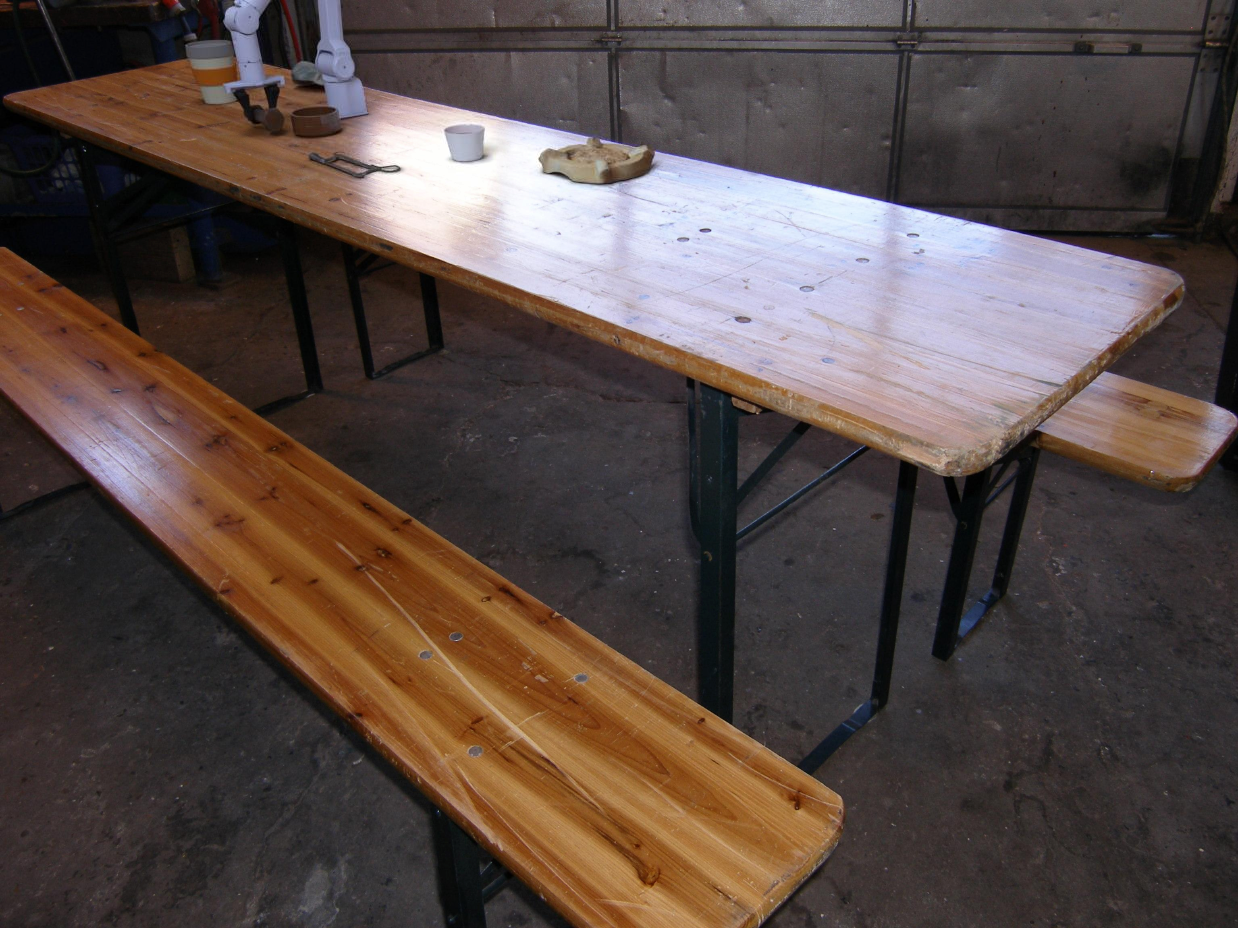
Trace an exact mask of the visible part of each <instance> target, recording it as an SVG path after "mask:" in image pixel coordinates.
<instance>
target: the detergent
mask: <svg viewBox="0 0 1238 928" xmlns="http://www.w3.org/2000/svg"><path fill="white" fill-rule="evenodd" d="M355 77H356V76H355V75H354V74H353V76H352V78H355ZM290 78H291V82H292V83H293V84H295V85H298V86H302V87H306V86H307V87H309V86H311V85H313V84H316V85H319V86H323V87H324V82H323V77H322V74H320V73H319V71H318V70H317V68H316V64H315V63H313V62H312V61H311V62H310V61H306V60H302V61H299V62H297V63H295V65H294V66H293V67H292V69H291V72H290Z"/></svg>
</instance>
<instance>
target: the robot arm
mask: <svg viewBox="0 0 1238 928" xmlns="http://www.w3.org/2000/svg"><path fill="white" fill-rule="evenodd" d="M270 2H271V0H234V1H233V4H234V5H233V6H231V7H230V6H229V7H228V8H227V9H226V11H225V12H224V19H223V20H222V21H223V24H224V26H225V28H226V29H227V30H228V31H229V32H230V34H231V35H230V36H231V39H232V46H233V49H234V55H235V58H236V62H237V63H236V64H237V68H238V71H239V77H240V79H239V80H238V81H235V82H231V83H226V84H223V86H224V90H225V92H226V93H232V92H233V94H234V96H235V97H236V99H237V101H238V103H239V104H240V106H241V108H242V110H243V111H244V112H245V114H246V116H247V118H246V119H247V120H248V122H250V123H251V122H253V121H254V120H253V115H252V111H251V107H250V106H251V101H250V94H249V93H248V92H247V91H248V90H255V89H261V88H263V91H264V94H265V98H266V100H267V105H268V109H270V108H277V106H278V105H277V104H278V99H279V96H280V92H281V89H280V87H279V86H285V85H286V81H285V76H284V75H274V76H266V74H265V68H264V63H263V58H262V55H261V51H260V50H261V48H260V45H259V40H258V36H257V30H258V29H259V25H260V20H259V19H260V17H261V15H262V14H263V12H264V11H265V9H267V6H268V5H269V3H270ZM317 5H318V6H317V8H318V19H319V28H320V29H319V30H320V40H319V41H318V44H317V45H316V50H317V54H316V57H315V60H314V61H315V62H314V64H315V65H316V68H317V70H318V71H319V73H320V74H322V77H323V82H324V86H323V88H324V92H325V98H326V103H327V105H326V106H330V107H335V108H338V110H339V116H340V120H342V119H346V118H351V117H358V116H363V115H364V116H365V115H368V114H369V111H368V108H367V104H366V96H365V90H364V86H363V84H362V81H361V80H360V78H359V77H357V76H355V78H352V76H353V75H354V74H355V70H356V65H355V62H354V60H353V58H352V55H351V49H350V47H349V46H348V44H347V43H346V42H345V40H344V31H343V19H342V10H341V8H342V7H341V0H317Z"/></svg>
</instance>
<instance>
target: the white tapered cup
mask: <svg viewBox="0 0 1238 928" xmlns="http://www.w3.org/2000/svg"><path fill="white" fill-rule="evenodd" d="M485 129H486V128H485V126H483V125H481V124H475V123H474V124H473V123H464V124H454V125H451V126H447V127H445V128H444V129H443V133H444V137H445V139H446V142H447V147H448V150H449V153H450V157H451V159H452V160H454V161H457V162H474V161H478V160H480V159H482V158H483V154H484V144H485V143H484V141H485Z"/></svg>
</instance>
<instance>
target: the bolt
mask: <svg viewBox="0 0 1238 928" xmlns="http://www.w3.org/2000/svg"><path fill="white" fill-rule="evenodd" d="M250 107H251V111H252V115H253V120H254V121H253V122H250V123H251V124H252V125H263V126H264V127H265V129H267V131H268V132H277V131H281V130H283V128H284V125H285V121H286V117H285V115H284V114H283V113H282V111H280V109H279V108H278V107H276V108H270V109H269V108H263V106H262V105H260V104H252V105H250ZM243 116H244V117H245V118H246V119H248V118H247V116H246V114H245V112H244V110H243Z"/></svg>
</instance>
